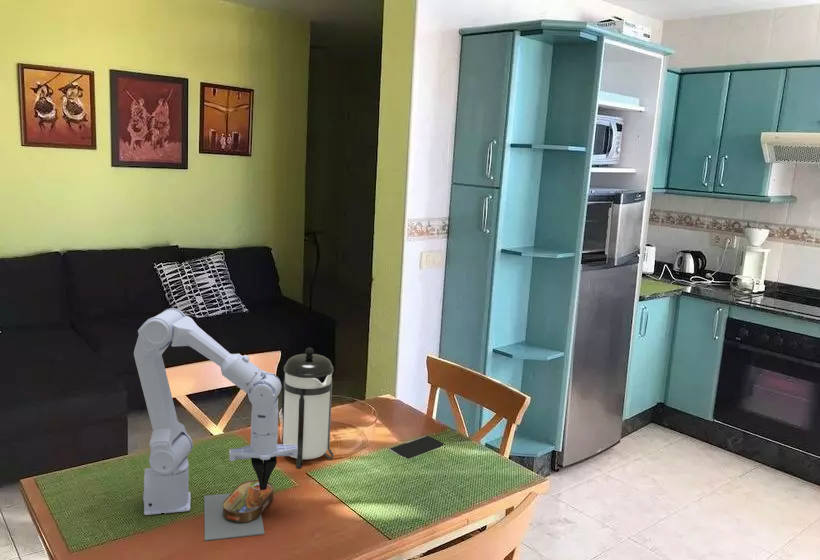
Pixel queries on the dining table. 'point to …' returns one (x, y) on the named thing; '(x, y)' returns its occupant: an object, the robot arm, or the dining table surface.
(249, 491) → the tin
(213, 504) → the mat
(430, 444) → the smartphone
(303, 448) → the coffee press
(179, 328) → the robot arm
